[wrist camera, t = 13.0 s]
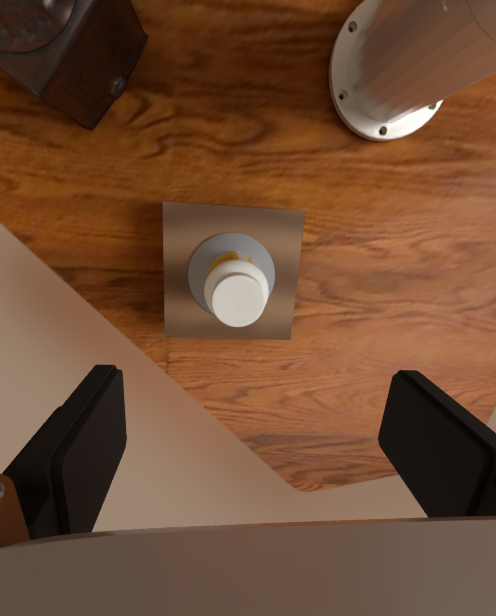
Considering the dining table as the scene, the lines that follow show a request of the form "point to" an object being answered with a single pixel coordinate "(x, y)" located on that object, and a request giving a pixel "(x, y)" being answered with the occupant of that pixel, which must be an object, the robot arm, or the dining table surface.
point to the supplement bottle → (236, 289)
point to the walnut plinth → (220, 239)
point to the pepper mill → (71, 52)
